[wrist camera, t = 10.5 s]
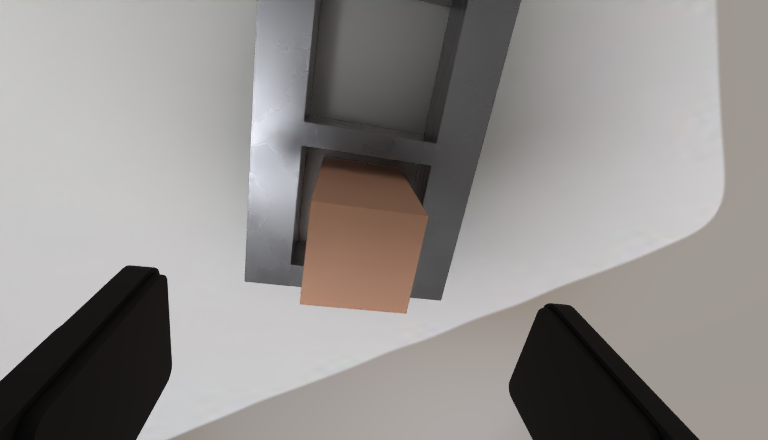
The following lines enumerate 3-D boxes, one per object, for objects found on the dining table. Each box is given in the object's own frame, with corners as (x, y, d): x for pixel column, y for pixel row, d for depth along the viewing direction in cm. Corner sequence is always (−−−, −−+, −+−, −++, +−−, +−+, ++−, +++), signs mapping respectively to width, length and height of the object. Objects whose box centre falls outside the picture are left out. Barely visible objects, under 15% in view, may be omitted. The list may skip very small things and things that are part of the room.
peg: (323, 156, 20) (310, 201, 13) (399, 167, 21) (428, 216, 14) (315, 227, 22) (299, 304, 15) (386, 236, 23) (406, 313, 15)
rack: (289, -299, 14) (274, -392, 11) (550, -212, 16) (594, -274, 13) (257, 256, 22) (244, 281, 19) (429, 274, 24) (440, 300, 21)
